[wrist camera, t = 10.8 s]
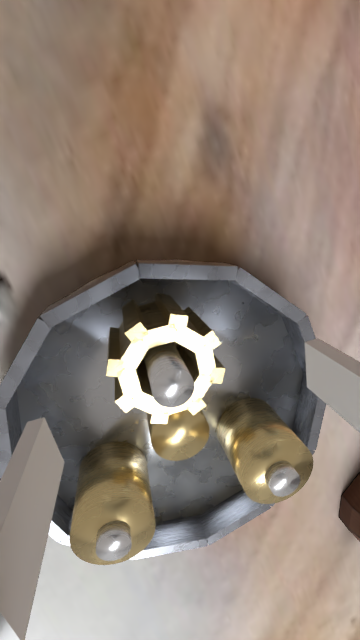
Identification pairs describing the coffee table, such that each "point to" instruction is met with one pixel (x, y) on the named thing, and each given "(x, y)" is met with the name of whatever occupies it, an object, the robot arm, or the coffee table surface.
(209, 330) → the planet gear
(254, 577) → the coffee table surface
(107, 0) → the coffee table surface
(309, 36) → the coffee table surface
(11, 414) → the carrier
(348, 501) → the mug
